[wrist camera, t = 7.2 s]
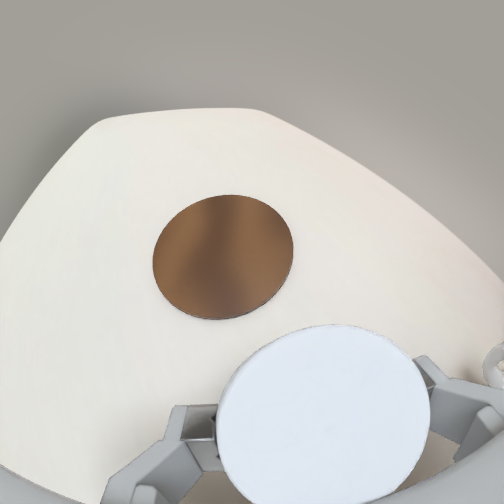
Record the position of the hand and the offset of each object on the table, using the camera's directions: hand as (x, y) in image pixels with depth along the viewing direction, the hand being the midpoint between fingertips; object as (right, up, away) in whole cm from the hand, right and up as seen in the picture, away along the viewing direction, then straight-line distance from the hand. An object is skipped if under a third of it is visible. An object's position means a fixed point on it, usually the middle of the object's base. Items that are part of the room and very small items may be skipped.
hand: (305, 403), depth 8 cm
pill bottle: (+1, -3, +4) cm, 6 cm away
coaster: (-4, +5, +14) cm, 15 cm away
